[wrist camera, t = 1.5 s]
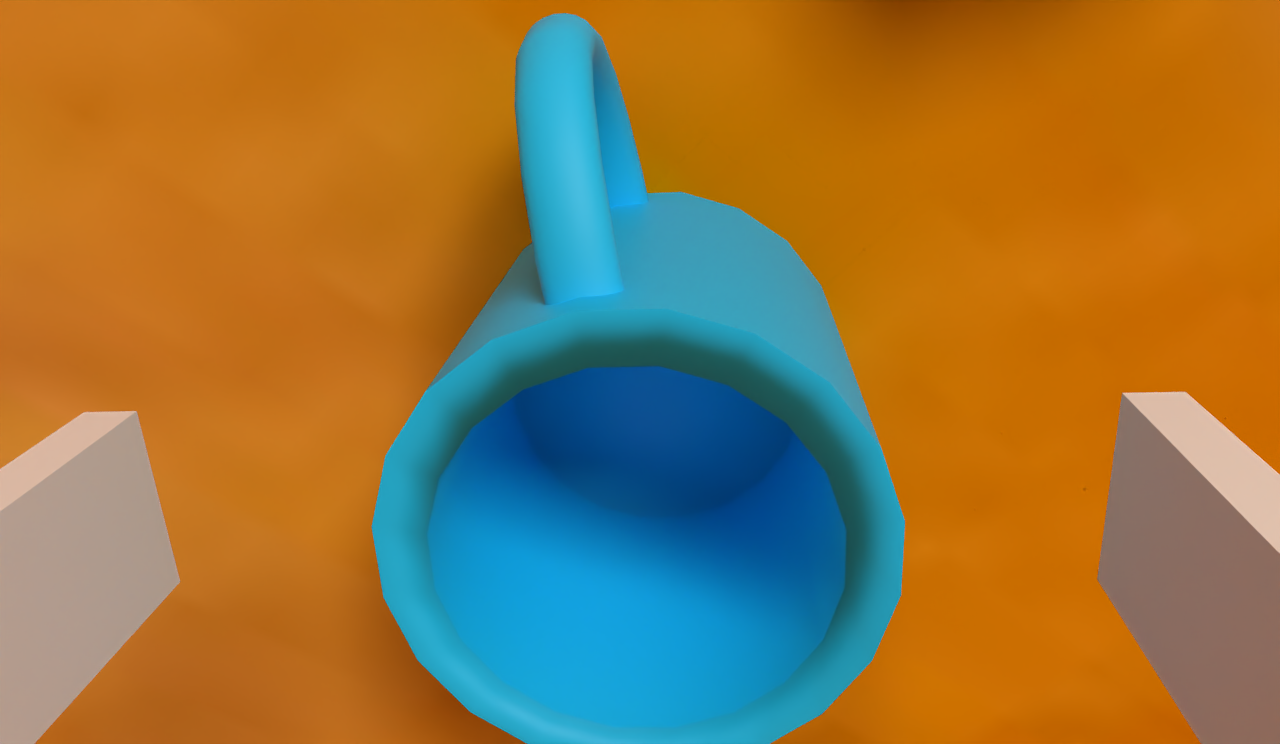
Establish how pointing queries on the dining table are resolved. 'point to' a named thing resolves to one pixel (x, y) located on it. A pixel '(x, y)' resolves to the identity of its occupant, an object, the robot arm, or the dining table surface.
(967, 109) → the dining table surface
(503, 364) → the mug
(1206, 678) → the robot arm
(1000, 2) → the dining table surface
